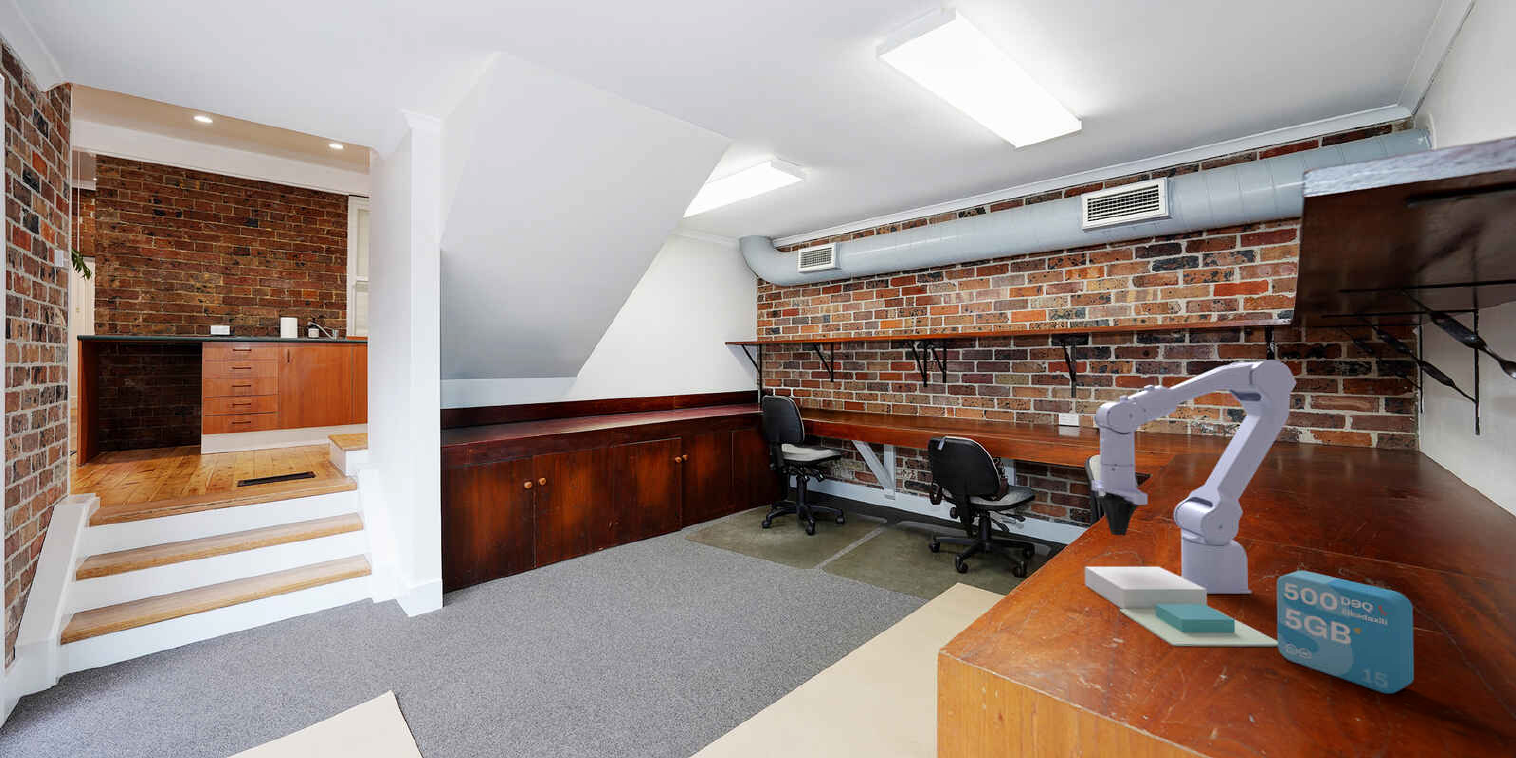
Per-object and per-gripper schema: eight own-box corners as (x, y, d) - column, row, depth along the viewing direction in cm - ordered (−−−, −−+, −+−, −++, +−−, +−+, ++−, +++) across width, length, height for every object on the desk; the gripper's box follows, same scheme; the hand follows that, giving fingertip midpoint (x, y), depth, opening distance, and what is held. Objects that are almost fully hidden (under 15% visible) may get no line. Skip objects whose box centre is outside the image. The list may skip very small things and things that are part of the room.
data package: (1277, 657, 81) (1275, 572, 81) (1293, 650, 83) (1291, 567, 83) (1399, 699, 70) (1398, 601, 70) (1414, 690, 72) (1413, 594, 72)
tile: (1234, 619, 88) (1234, 632, 88) (1205, 604, 94) (1205, 616, 94) (1181, 619, 88) (1181, 632, 88) (1155, 604, 94) (1155, 616, 94)
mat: (1215, 611, 97) (1215, 609, 97) (1283, 646, 84) (1283, 644, 84) (1119, 610, 97) (1119, 609, 97) (1173, 646, 84) (1173, 644, 84)
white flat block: (1159, 585, 109) (1158, 566, 109) (1206, 609, 97) (1206, 589, 97) (1085, 584, 110) (1084, 566, 110) (1123, 609, 98) (1123, 589, 98)
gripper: (1076, 459, 118) (1077, 525, 118) (1119, 470, 103) (1120, 545, 103) (1111, 459, 118) (1111, 525, 118) (1158, 469, 103) (1159, 545, 103)
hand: (1118, 534), depth 111 cm, fingers closed
